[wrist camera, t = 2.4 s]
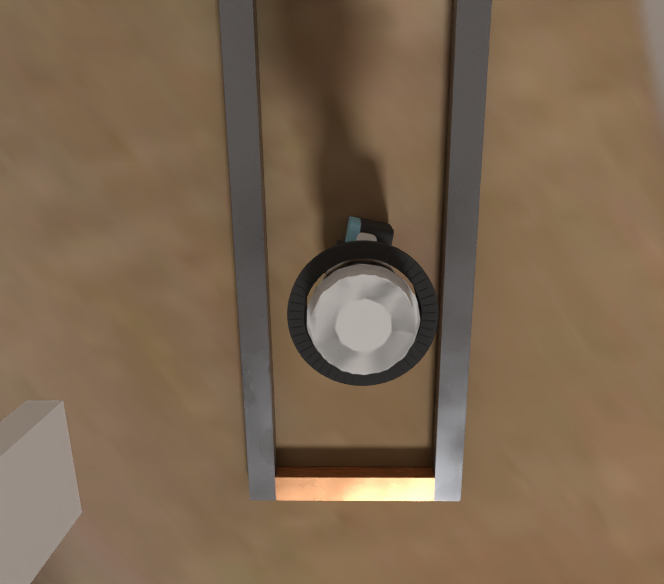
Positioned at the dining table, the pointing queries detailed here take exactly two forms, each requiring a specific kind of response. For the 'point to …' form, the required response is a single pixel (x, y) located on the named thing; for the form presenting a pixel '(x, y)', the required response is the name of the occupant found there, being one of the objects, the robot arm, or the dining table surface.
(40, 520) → the robot arm
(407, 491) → the open rectangular frame
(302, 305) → the push button
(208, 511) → the dining table surface
